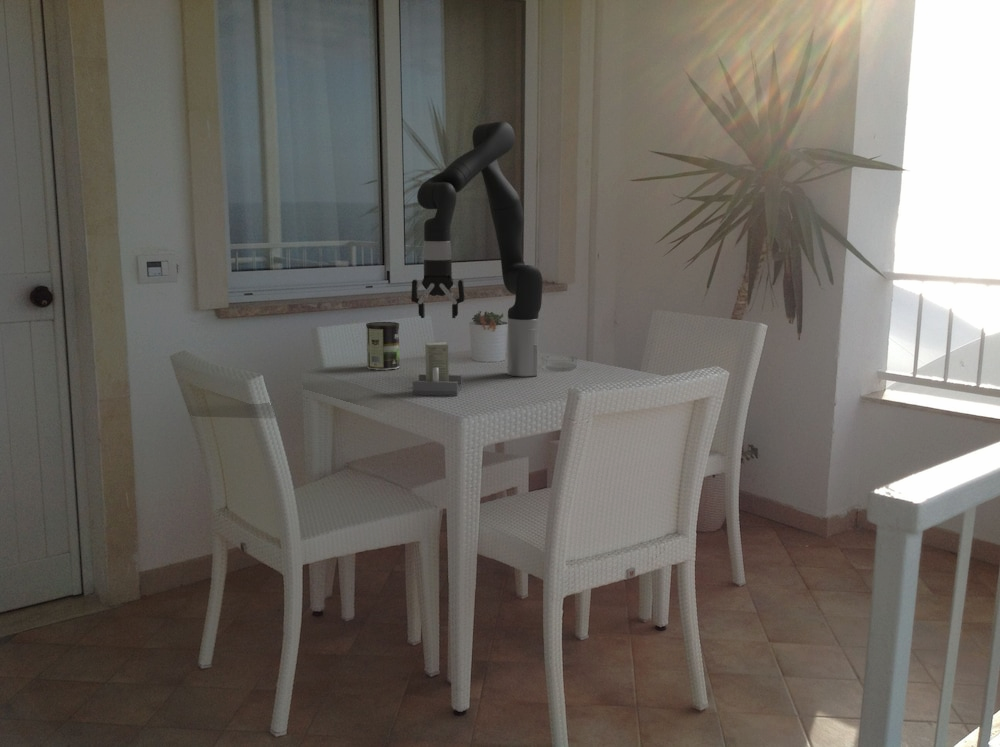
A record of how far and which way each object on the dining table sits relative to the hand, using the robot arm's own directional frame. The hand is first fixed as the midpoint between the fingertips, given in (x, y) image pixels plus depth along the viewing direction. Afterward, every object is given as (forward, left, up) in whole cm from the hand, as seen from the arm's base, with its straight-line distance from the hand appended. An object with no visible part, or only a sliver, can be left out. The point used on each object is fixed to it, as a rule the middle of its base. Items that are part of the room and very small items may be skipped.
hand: (438, 317), depth 257 cm
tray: (0, 0, -20) cm, 20 cm away
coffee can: (+22, -35, -21) cm, 46 cm away
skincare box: (0, 0, -19) cm, 19 cm away
